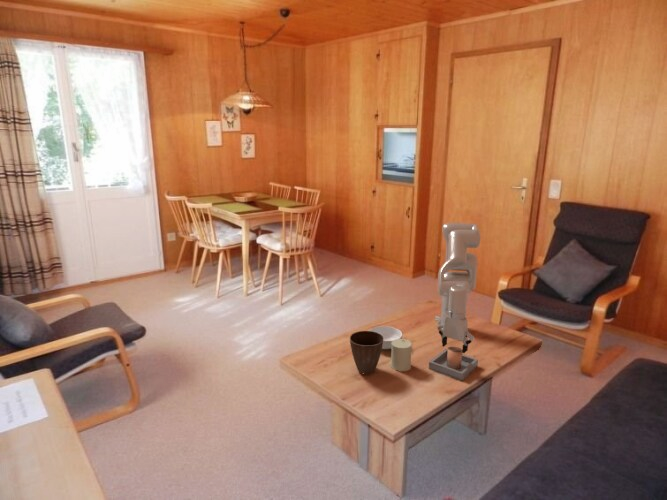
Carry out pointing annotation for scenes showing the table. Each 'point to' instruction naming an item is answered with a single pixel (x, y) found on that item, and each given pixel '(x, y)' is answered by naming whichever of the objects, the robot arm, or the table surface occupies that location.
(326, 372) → the table surface
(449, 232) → the robot arm
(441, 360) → the grey tray
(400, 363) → the pillar candle
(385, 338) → the cereal bowl
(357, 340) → the plant pot
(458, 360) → the terracotta cup
